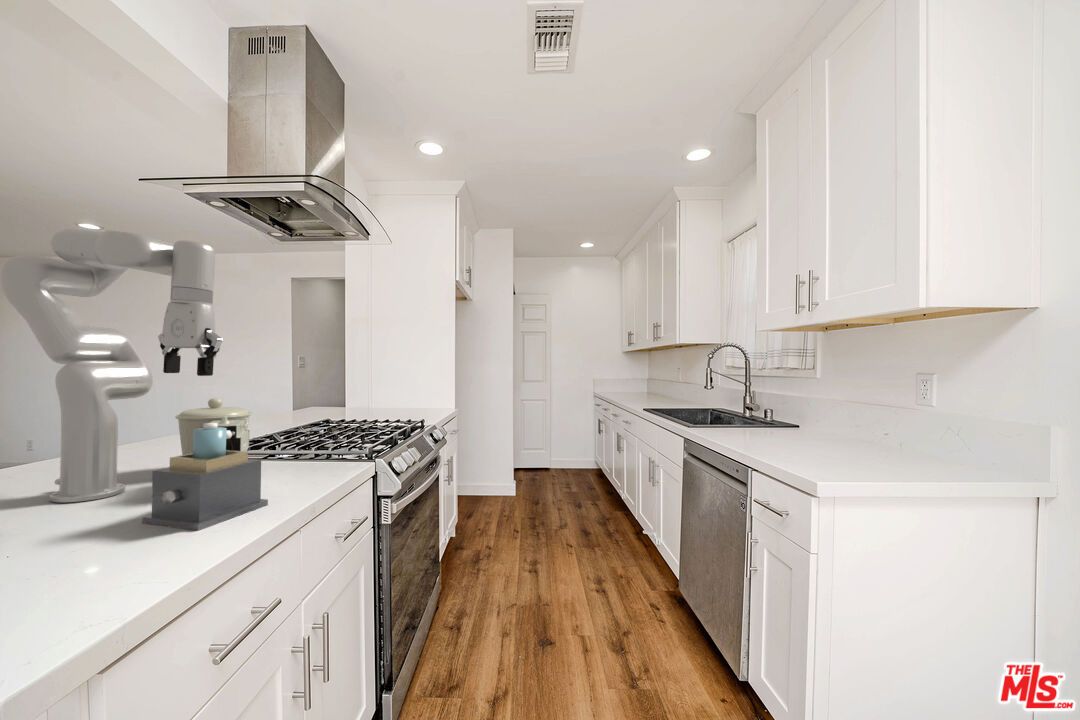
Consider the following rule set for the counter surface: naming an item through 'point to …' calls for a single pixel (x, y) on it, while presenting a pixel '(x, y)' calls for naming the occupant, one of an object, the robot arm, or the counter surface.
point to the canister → (205, 420)
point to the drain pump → (210, 441)
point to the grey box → (205, 490)
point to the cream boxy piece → (235, 433)
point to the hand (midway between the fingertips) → (188, 374)
